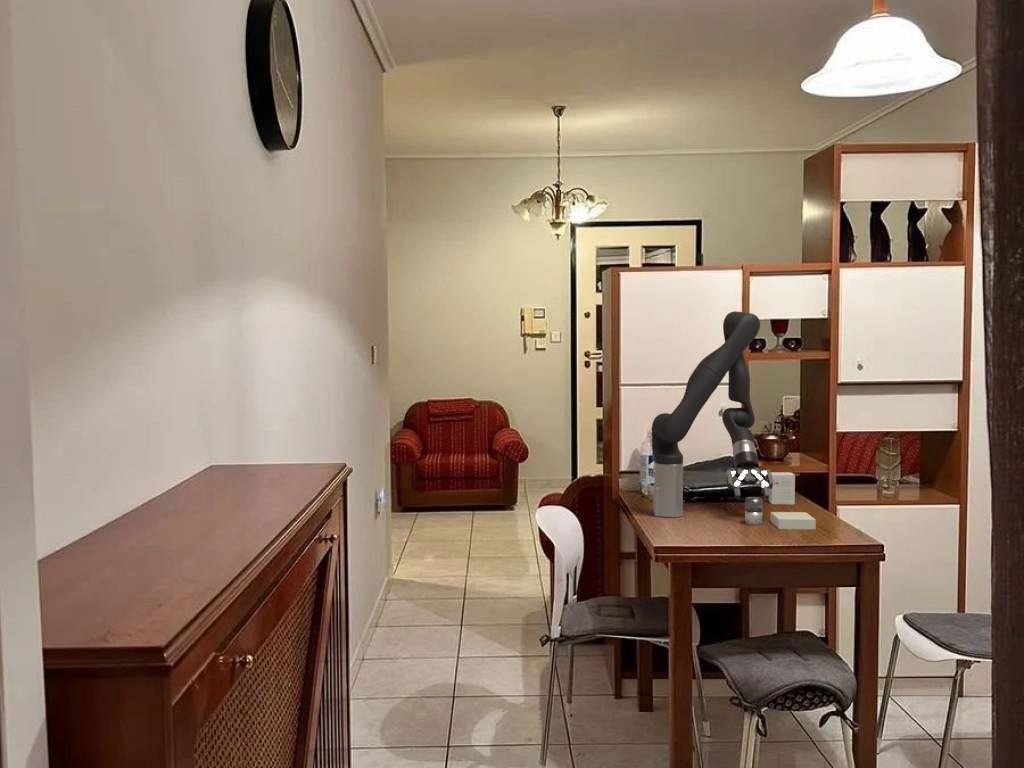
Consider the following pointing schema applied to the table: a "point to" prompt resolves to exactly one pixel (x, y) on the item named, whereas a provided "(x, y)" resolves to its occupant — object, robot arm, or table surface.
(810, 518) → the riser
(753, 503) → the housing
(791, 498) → the small box
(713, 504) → the table surface
